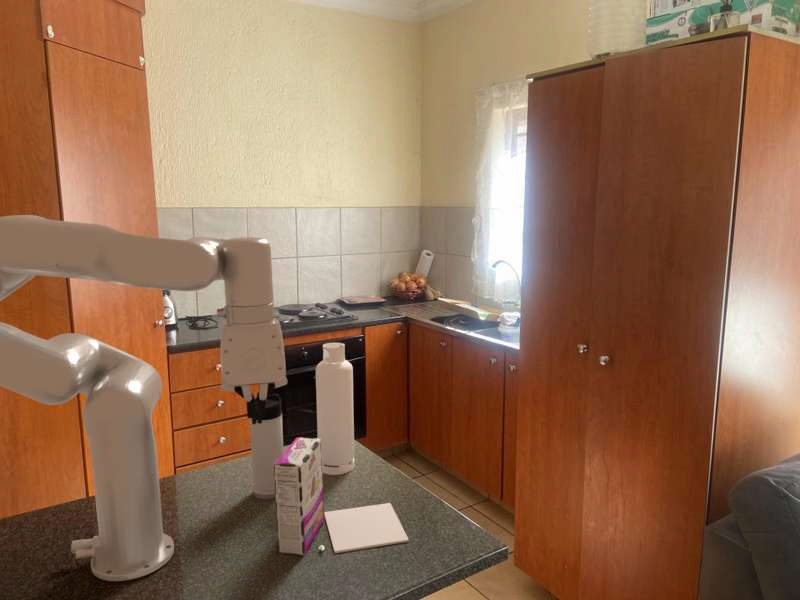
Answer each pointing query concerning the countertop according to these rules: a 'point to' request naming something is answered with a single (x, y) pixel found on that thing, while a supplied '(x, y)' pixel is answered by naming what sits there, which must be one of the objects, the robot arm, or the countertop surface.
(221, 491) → the countertop surface
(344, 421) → the bottle
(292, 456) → the candy bar box
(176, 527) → the countertop surface
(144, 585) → the countertop surface
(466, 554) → the countertop surface
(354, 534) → the mat
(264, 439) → the travel mug
